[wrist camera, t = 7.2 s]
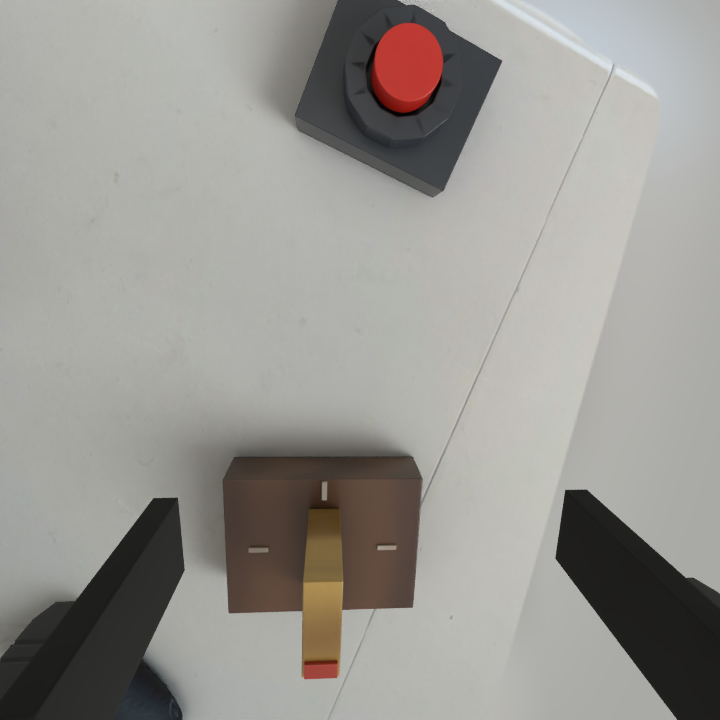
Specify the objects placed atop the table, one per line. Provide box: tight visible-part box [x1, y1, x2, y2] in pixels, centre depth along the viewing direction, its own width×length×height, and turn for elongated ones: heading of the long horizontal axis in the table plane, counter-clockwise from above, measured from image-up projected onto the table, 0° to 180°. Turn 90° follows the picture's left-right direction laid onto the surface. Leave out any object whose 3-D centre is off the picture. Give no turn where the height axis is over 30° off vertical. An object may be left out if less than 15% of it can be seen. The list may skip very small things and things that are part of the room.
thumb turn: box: [302, 509, 343, 679], centre depth 26 cm, size 6×2×7 cm, turn 178°
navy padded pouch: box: [113, 662, 183, 720], centre depth 34 cm, size 9×6×15 cm
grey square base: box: [295, 0, 502, 197], centre depth 25 cm, size 10×8×4 cm
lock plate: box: [223, 457, 423, 613], centre depth 32 cm, size 14×11×4 cm
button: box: [371, 23, 443, 113], centre depth 22 cm, size 4×4×2 cm
